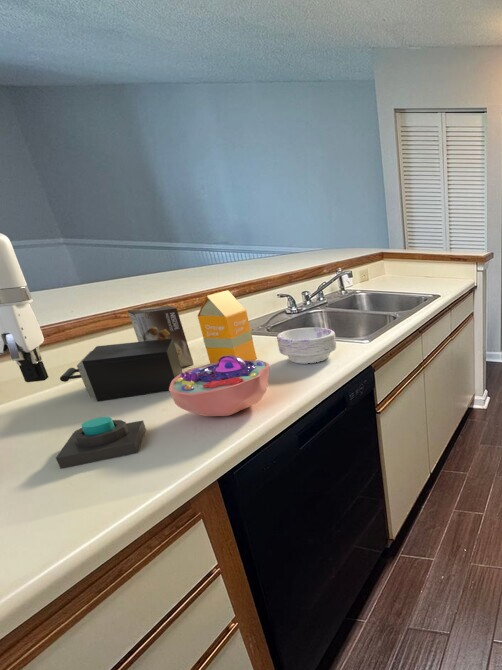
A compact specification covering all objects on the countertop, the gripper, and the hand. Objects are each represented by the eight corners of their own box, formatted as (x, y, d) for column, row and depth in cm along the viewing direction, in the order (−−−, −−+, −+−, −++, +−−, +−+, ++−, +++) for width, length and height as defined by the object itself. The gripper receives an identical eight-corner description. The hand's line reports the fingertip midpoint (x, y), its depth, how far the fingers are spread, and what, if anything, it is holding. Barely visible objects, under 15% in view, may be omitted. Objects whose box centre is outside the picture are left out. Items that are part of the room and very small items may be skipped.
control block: (60, 469, 70) (51, 448, 69) (77, 442, 78) (69, 423, 76) (137, 453, 75) (130, 433, 74) (146, 430, 83) (140, 411, 81)
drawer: (63, 402, 92) (49, 368, 89) (78, 384, 101) (66, 353, 98) (165, 387, 101) (155, 356, 98) (170, 372, 109) (162, 343, 107)
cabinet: (97, 401, 94) (81, 361, 91) (110, 383, 104) (96, 346, 101) (178, 389, 102) (166, 351, 98) (182, 373, 111) (172, 338, 108)
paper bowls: (347, 352, 130) (343, 327, 127) (321, 369, 116) (317, 341, 113) (300, 349, 132) (296, 325, 129) (269, 366, 118) (264, 338, 115)
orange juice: (257, 358, 123) (242, 289, 116) (238, 369, 115) (221, 295, 108) (231, 357, 123) (214, 289, 116) (210, 368, 115) (190, 294, 108)
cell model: (154, 427, 84) (136, 374, 80) (229, 389, 102) (218, 344, 98) (230, 434, 82) (216, 380, 78) (294, 394, 100) (285, 348, 96)
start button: (81, 438, 73) (78, 429, 72) (88, 428, 76) (84, 419, 75) (112, 432, 75) (109, 423, 74) (117, 423, 78) (114, 415, 77)
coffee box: (185, 360, 121) (169, 304, 115) (194, 364, 117) (178, 307, 111) (146, 368, 114) (126, 309, 108) (153, 373, 111) (134, 313, 105)
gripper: (-7, 291, 90) (26, 372, 96) (-44, 303, 78) (-3, 394, 85) (42, 290, 94) (71, 367, 100) (14, 301, 82) (49, 388, 88)
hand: (37, 380), depth 92 cm, fingers closed
